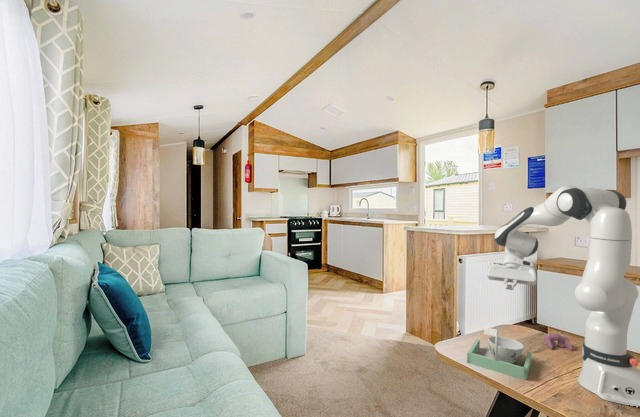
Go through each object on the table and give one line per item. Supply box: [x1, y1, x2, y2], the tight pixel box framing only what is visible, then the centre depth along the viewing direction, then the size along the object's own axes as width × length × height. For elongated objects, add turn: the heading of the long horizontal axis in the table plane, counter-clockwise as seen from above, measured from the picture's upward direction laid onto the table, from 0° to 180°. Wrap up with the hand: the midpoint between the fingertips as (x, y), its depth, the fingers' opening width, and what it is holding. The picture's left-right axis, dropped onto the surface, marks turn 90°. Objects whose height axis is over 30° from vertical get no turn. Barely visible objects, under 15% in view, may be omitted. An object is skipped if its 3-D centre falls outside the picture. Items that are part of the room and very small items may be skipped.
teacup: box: [487, 336, 524, 364], centre depth 132 cm, size 15×12×8 cm
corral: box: [466, 326, 532, 381], centre depth 130 cm, size 20×17×16 cm
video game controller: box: [543, 333, 574, 351], centre depth 145 cm, size 10×5×7 cm, turn 85°
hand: (509, 289), depth 149 cm, fingers closed
